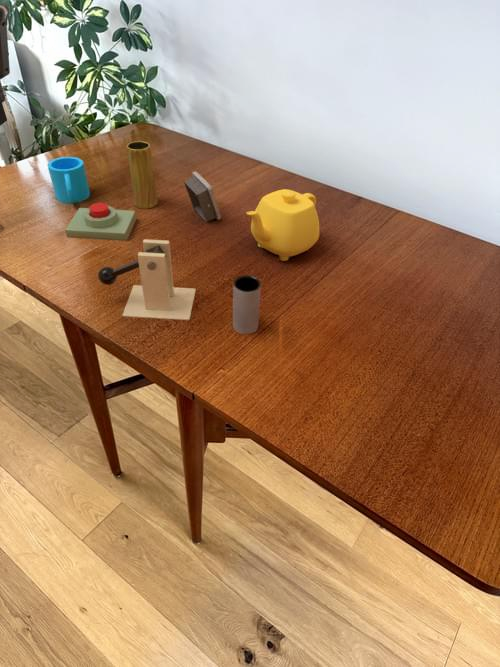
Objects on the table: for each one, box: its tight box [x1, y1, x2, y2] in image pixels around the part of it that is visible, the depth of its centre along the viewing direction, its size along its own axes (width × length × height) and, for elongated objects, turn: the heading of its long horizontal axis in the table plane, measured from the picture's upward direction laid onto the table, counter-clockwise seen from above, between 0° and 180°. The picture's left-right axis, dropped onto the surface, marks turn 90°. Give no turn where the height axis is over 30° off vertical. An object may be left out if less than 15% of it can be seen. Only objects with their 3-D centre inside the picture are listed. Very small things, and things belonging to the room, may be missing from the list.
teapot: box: [245, 188, 320, 262], centre depth 98 cm, size 14×20×13 cm
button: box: [88, 202, 109, 218], centre depth 102 cm, size 4×4×2 cm
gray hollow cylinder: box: [232, 274, 262, 335], centre depth 79 cm, size 4×4×10 cm
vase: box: [126, 140, 159, 210], centre depth 110 cm, size 6×6×14 cm
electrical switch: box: [183, 170, 222, 223], centre depth 109 cm, size 9×5×9 cm, turn 29°
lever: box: [97, 245, 166, 286], centre depth 80 cm, size 13×3×3 cm, turn 87°
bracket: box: [121, 238, 197, 321], centre depth 82 cm, size 12×9×13 cm
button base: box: [64, 205, 137, 242], centre depth 104 cm, size 13×10×4 cm
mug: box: [47, 156, 91, 204], centre depth 112 cm, size 12×8×8 cm
